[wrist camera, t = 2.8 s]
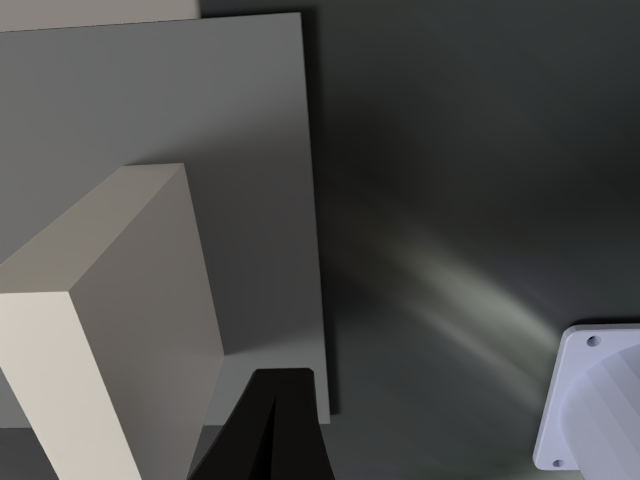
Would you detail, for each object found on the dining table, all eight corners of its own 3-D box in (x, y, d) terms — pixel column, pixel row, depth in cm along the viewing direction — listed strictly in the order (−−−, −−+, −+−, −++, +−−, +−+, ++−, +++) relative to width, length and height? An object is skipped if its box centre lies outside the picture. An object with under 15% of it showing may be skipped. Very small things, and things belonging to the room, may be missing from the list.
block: (183, 162, 14) (67, 291, 8) (224, 355, 18) (166, 541, 12) (113, 166, 14) (-51, 294, 8) (169, 356, 18) (83, 542, 12)
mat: (301, 11, 13) (299, 12, 12) (330, 416, 20) (330, 423, 20) (-237, 48, 14) (-253, 49, 13) (-16, 420, 21) (-22, 428, 21)
